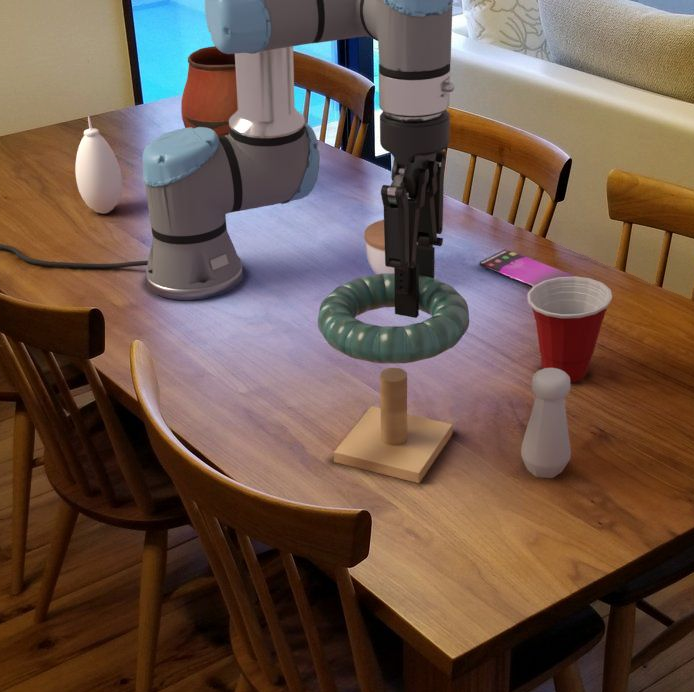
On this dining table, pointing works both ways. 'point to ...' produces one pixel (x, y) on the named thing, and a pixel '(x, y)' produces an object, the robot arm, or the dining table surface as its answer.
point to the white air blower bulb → (97, 172)
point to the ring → (392, 340)
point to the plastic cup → (568, 321)
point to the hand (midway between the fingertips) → (414, 305)
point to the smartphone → (522, 268)
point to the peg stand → (393, 435)
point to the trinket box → (376, 248)
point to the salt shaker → (547, 425)
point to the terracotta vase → (210, 90)
